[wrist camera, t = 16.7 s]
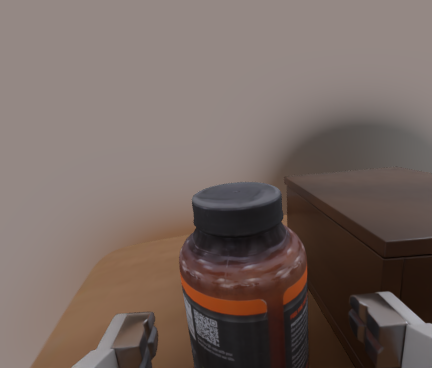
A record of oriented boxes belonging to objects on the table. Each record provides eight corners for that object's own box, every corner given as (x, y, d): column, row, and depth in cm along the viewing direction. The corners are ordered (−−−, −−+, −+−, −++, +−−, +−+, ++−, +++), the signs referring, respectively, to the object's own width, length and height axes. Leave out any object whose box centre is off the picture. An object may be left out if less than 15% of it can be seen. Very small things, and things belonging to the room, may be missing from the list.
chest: (287, 254, 25) (286, 185, 23) (394, 245, 25) (401, 175, 23) (371, 396, 12) (383, 259, 10) (605, 379, 11) (661, 236, 10)
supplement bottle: (295, 339, 15) (293, 173, 13) (326, 469, 9) (334, 211, 7) (207, 336, 16) (188, 180, 13) (186, 453, 10) (146, 219, 8)
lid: (284, 183, 24) (284, 176, 24) (395, 173, 24) (396, 166, 24) (383, 258, 10) (385, 241, 10) (661, 235, 10) (668, 218, 9)
